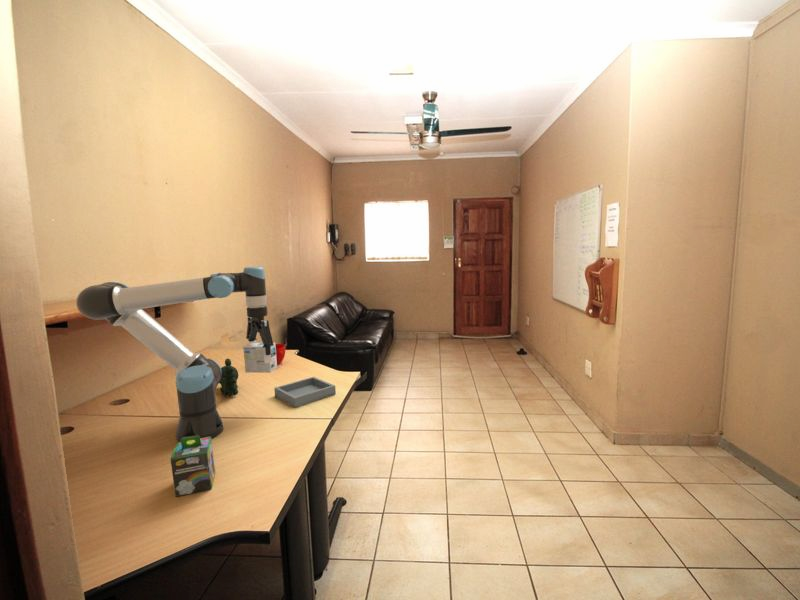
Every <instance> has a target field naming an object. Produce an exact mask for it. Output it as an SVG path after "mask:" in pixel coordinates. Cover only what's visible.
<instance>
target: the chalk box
mask: <svg viewBox="0 0 800 600" xmlns="http://www.w3.org/2000/svg"><path fill="white" fill-rule="evenodd" d="M170 466H171V474H172V480H173V489H174V495H175V497H176V498H177V497H180V496H185V495H191V494H195V493H199V492H200V493H201V492H205V491H210V490H212V488H213V484H214V480H215V476H216V475H215V474H216V467H215V458H214V450H213V442H212V438H211V436H210V437H204V438H200V436H198V435H197V436H191V437H185V438H182V439H181V442H179V441H178V442H177V443H176V445H175V446H174V449H173V450H172V454H171V457H170Z"/></svg>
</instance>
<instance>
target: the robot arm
mask: <svg viewBox="0 0 800 600" xmlns="http://www.w3.org/2000/svg"><path fill="white" fill-rule="evenodd" d="M264 269H265V268H263V267H261V266H246V267H244V268H243V272H242V271H241V272H223V273H222V272H218V273H212V274H210V276H207V277H199V278H191V279H184V280H177V281H169V282H168V281H167V282H161V283H153V284H146V285H137V286H130V287H129V286H128V285H127V284H124V283H121V282H115V281H108V282H103V283H99V284H95V285H90V286H88V287H85V288H84V289H82V290H81V291H80V292H79V294H78V295H77V298H76V301H75V302H76V305H75V306H76V307H77V310H78V312H79V313H80V314H81V315H82V316H84V317H86V318H88V319H91V320H96V321H100V320H101V321H102V320H106V321H107V322H108V323H110V324H111V326H113V327H122V328H123V329H124V330H126V331H127V332H129V334H131V335H132V336H133V337H135V339H136V340H138V341H139V342H140V343H142V344H143V345H144V346H146V347H147V348H148V349H149V351H151V352H153V353H154V354H155V355H156V356H157V357H159V358H160V359H161V360H162V361H164V362H165V363H166V364H167V365H169V366H170V367H171V368H172V369H174V371H175V387H176V394H177V404H178V412H179V418H178V422H177V425H176V429H175V438H176V441H177V442H178V443H179V442H181V439H182V438H185V437H191V436H197V435H198V436H200V438H204V437H210V436H211V439H213V438H215V437H217V436H219V435H220V434H221V433H222V432H223V431H224V422H223V420H222V417H221V415H220V414H219V412H218V409H217V404H216V403H217V401H216V389H217V387H218V385H219V384H220V383H219V382H220V380H221V374H222V372H221V368H222V367H221V366H220V364H219V363H218V362H217V361H216V360H214V359H212V358H207V357H206V356H205V355H204V354H202V353H201V352H194V351H192V350H191V349H189V347H188V346H186V345H185V344H183V343H182V341H180V340H179V339H178V338H177V337H176V336H174V335H173V334H172V333H171V332H169V331H168V329H166V328H165V327H163V326H162V325H161V324H160V323H159V322H157V320H155V319H154V318H153V317H152V316H151V315H149V314H148V313H147V312H146V311H145V310H143V309H148V308H149V309H150V308H155V307H162V306H163V307H164V306H169V305H175V304H182V303H189V302H195V301H196V302H197V301H202V300H209V299H216V298H217V299H223V298H224V299H225V298H227V297H229V296H230V295H231V294H232V293H245V305H246V316H247V327H246V336H245V337H246V338H245V339H246V340H248V344H250V343H258V341H257V340H258V338H257V335H258V334H259V337H260V338H261V343H263V345H264V346H263V356H264V364H266V363H271V362H272V361H271V347H270V346H272V345H273V343H274V341H273V337H272V333H271V330H270V329H271V328H270V322H269V320H268V319H267V320H265V317H266V316H268V306H266V305H267V300H268V297H267V291H266V290H267V288H266V287H267V286H266V275H265V270H264Z"/></svg>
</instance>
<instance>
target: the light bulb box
mask: <svg viewBox="0 0 800 600" xmlns="http://www.w3.org/2000/svg"><path fill="white" fill-rule="evenodd" d="M275 344H276V342H273V345H272V346H270V347H271V361H272V362H271V363H266V364H264V356H263V346H264V345H263V342H257V343H250V344H249V343H247V344H245V345H243V346H242V347H243V359H244V371H245V373H254V374H255V373H256V374H257V373H260V374H261V373H262V374H263V373H264V374H265V373H266V374H267V373H269V374H270V373H271V372H274V371H275V370H276V369H278V365H277V358H276V346H275Z"/></svg>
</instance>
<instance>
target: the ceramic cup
mask: <svg viewBox="0 0 800 600" xmlns="http://www.w3.org/2000/svg"><path fill="white" fill-rule="evenodd" d="M275 346H276V358H277V366H278V365H280V364H282V362H283V360H284V359H285V355H286V345H285V344H283V343H275Z"/></svg>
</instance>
